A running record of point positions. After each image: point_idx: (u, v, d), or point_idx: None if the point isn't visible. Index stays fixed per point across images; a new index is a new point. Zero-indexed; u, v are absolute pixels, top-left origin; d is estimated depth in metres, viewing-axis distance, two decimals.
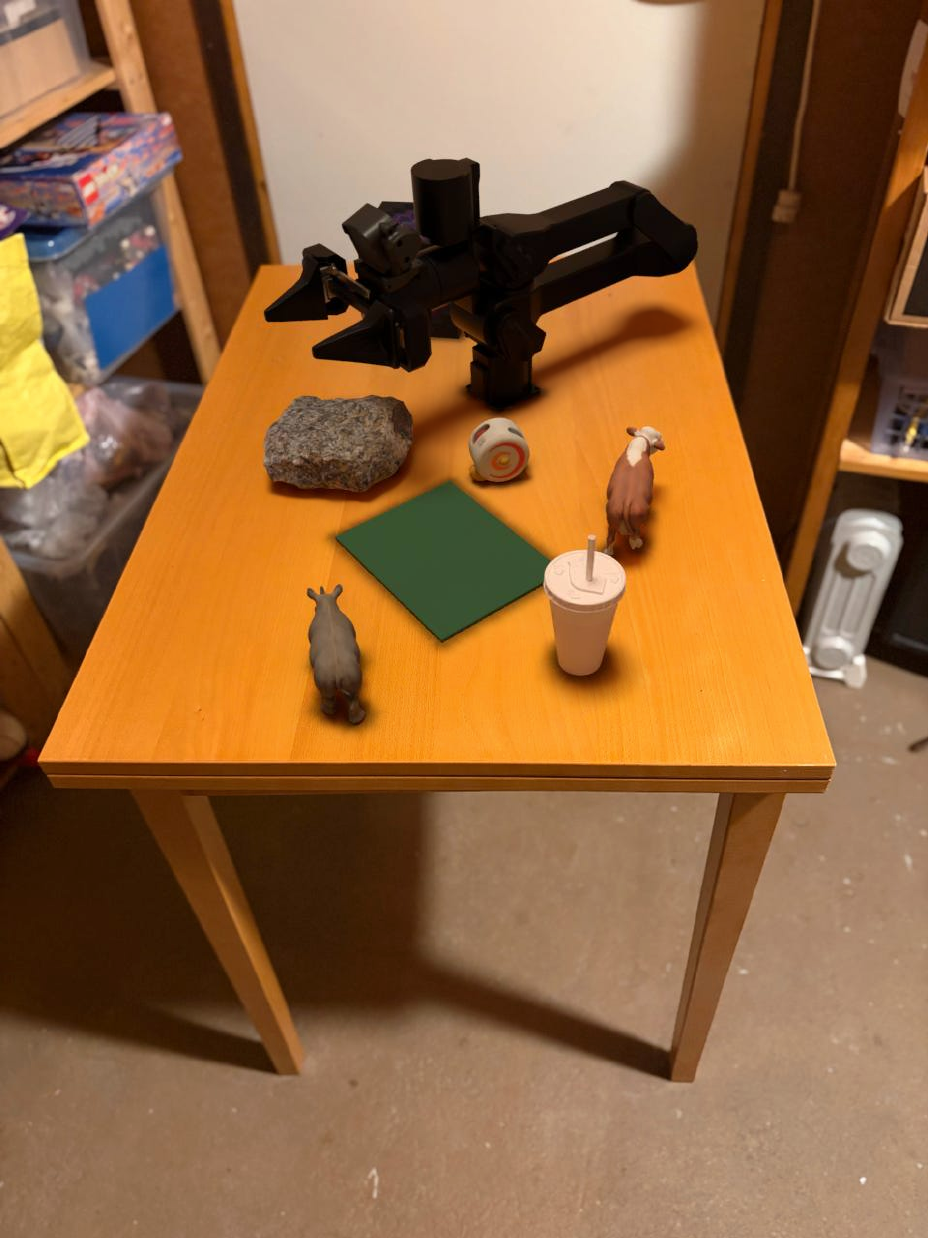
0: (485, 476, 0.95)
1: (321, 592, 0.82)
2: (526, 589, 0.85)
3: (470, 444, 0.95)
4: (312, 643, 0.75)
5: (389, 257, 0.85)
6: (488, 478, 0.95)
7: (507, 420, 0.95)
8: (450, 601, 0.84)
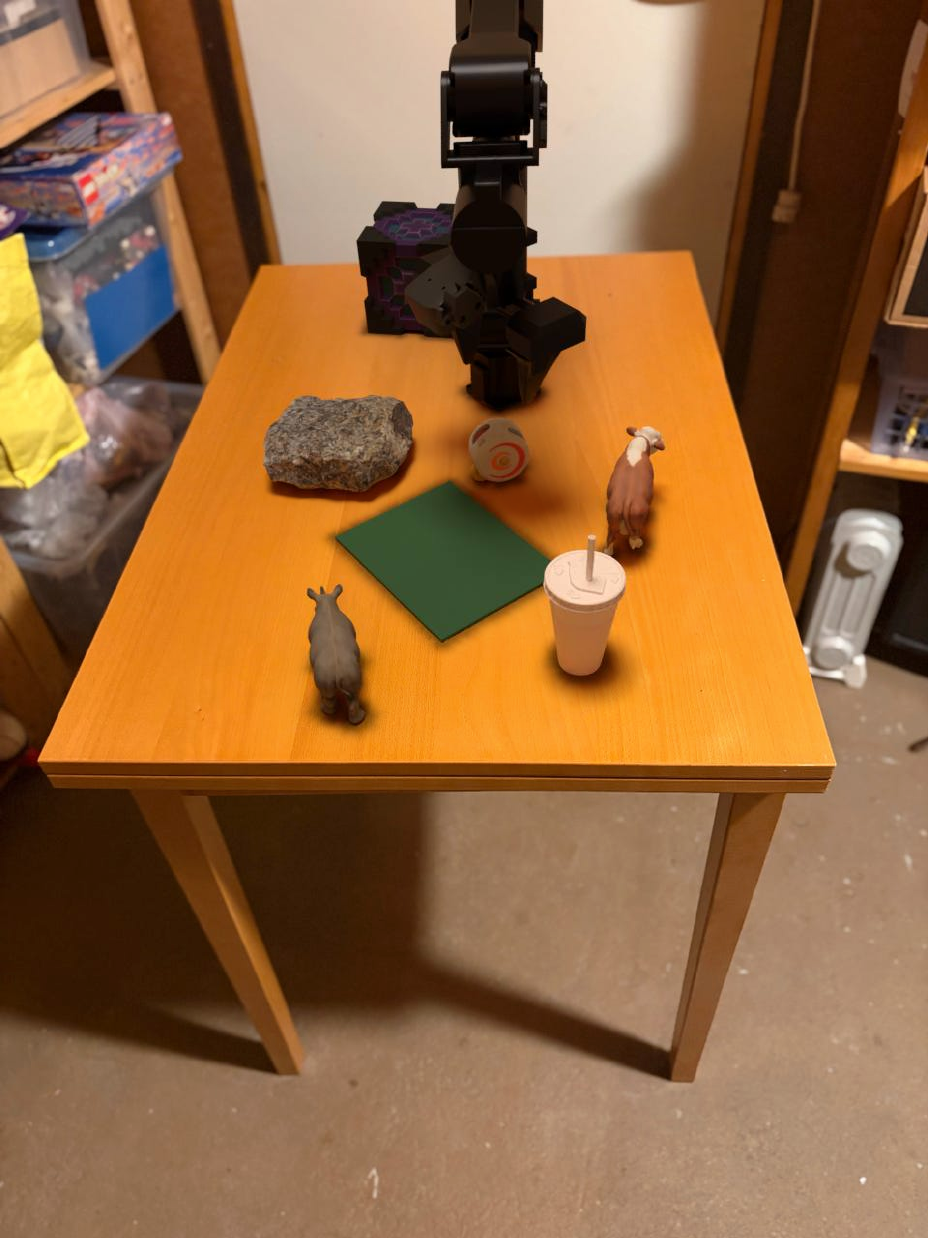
0: (485, 476, 0.95)
1: (321, 592, 0.82)
2: (526, 589, 0.85)
3: (470, 444, 0.95)
4: (312, 643, 0.75)
5: None
6: (488, 478, 0.95)
7: (507, 420, 0.95)
8: (450, 601, 0.84)
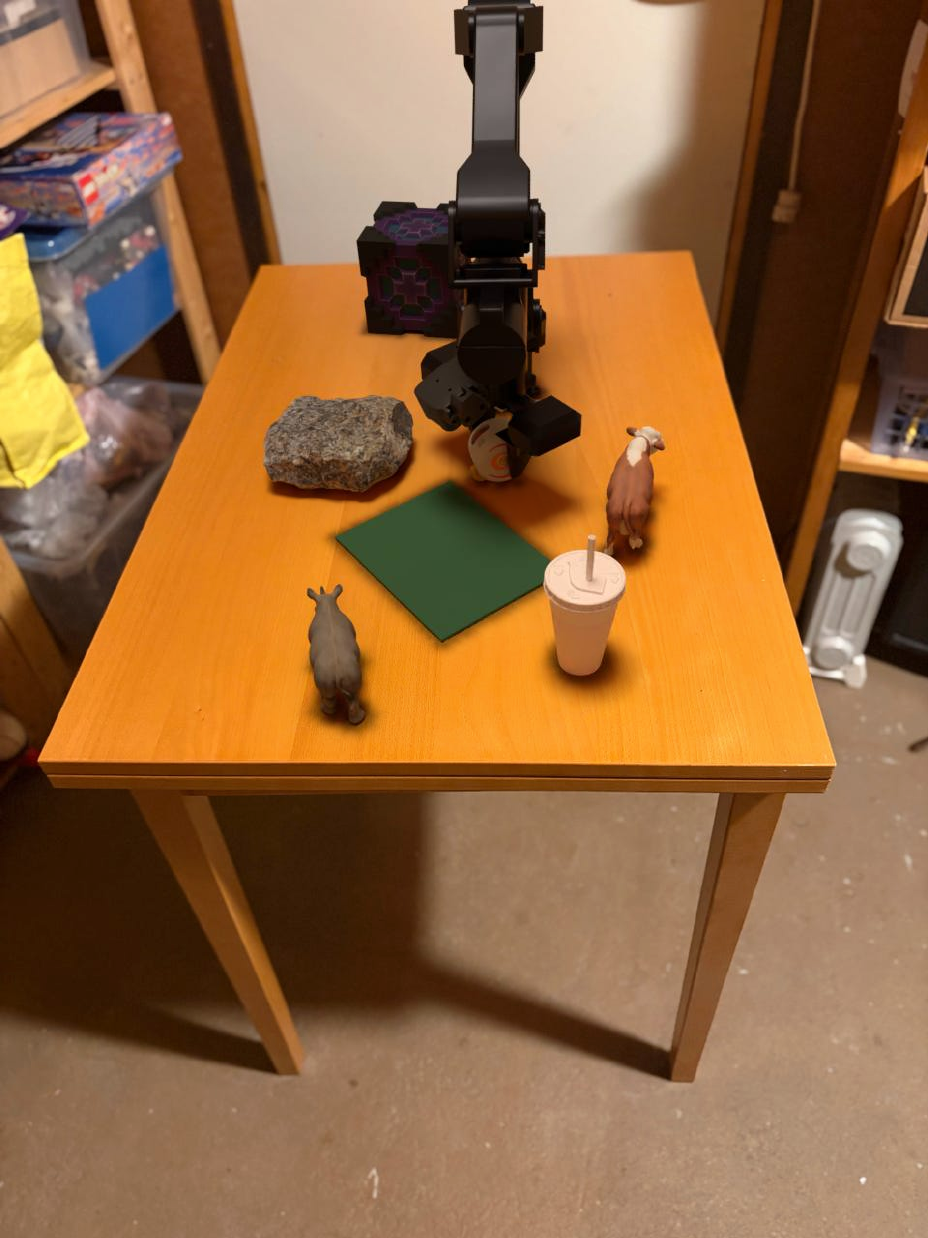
0: (485, 476, 0.95)
1: (321, 592, 0.82)
2: (526, 589, 0.85)
3: (470, 444, 0.95)
4: (312, 643, 0.75)
5: None
6: (488, 478, 0.95)
7: (507, 420, 0.95)
8: (450, 601, 0.84)
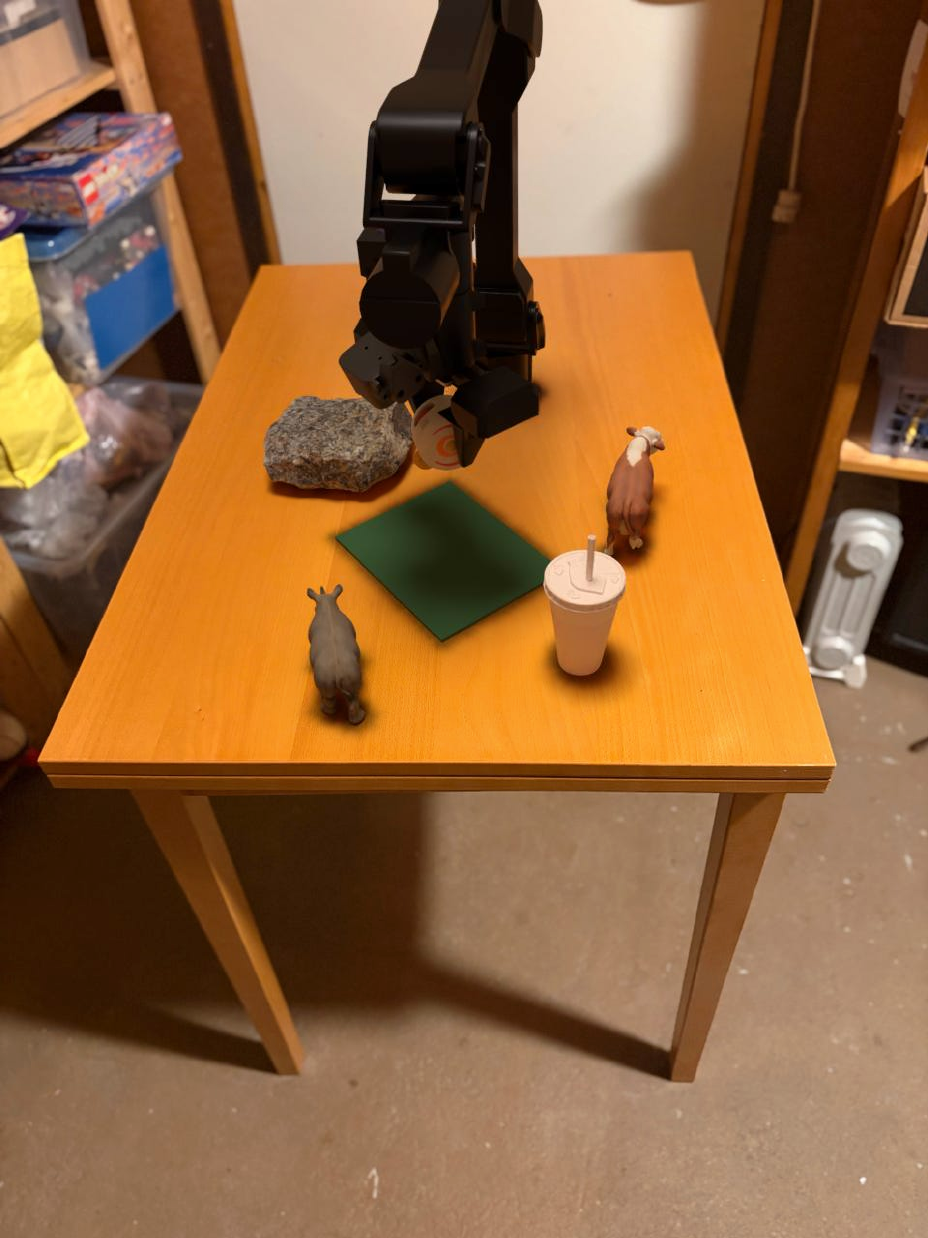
0: (430, 464, 0.81)
1: (321, 592, 0.82)
2: (526, 589, 0.85)
3: (412, 426, 0.81)
4: (312, 643, 0.75)
5: None
6: (434, 466, 0.81)
7: None
8: (450, 601, 0.84)
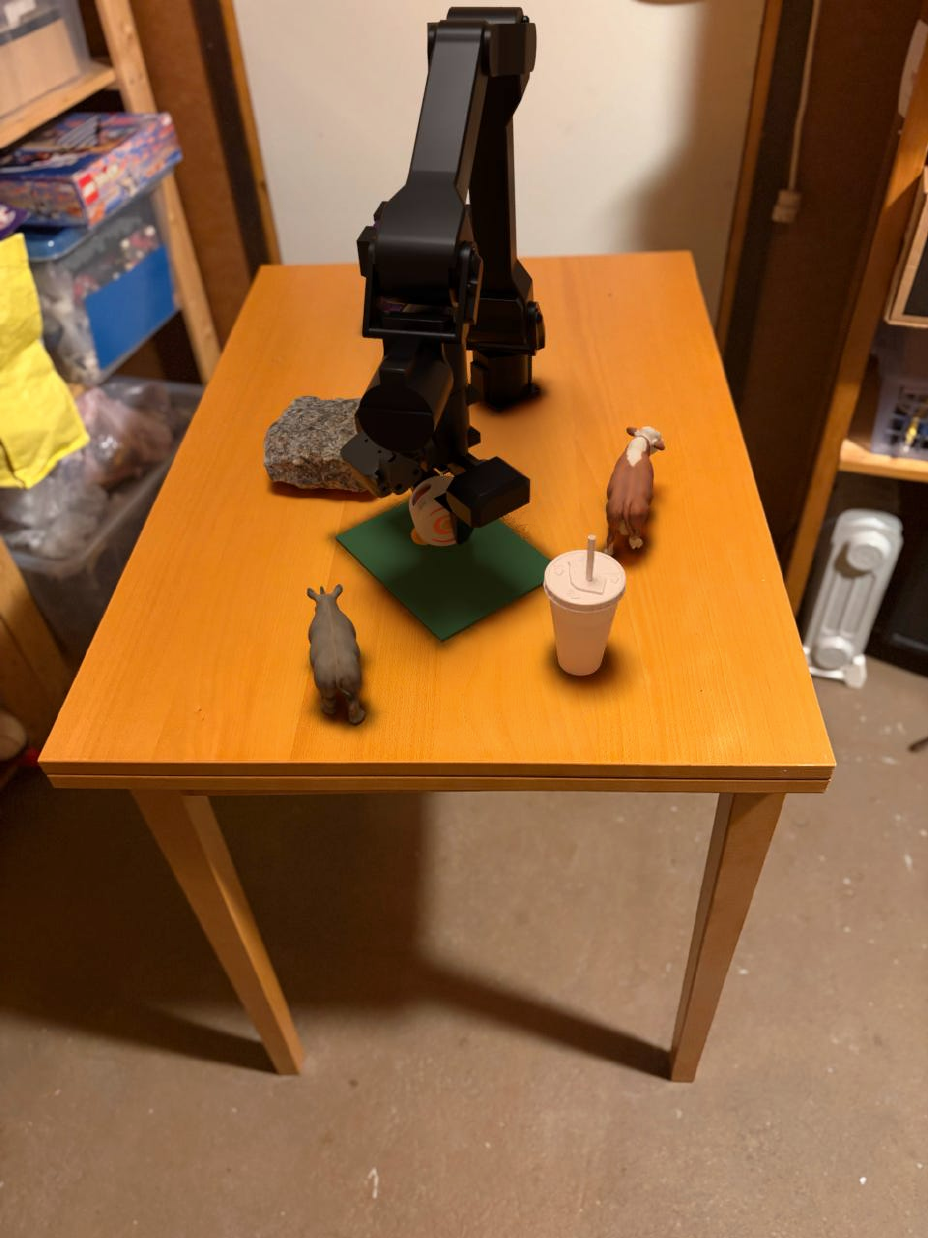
0: (427, 541, 0.85)
1: (321, 592, 0.82)
2: (526, 589, 0.85)
3: (410, 505, 0.85)
4: (312, 643, 0.75)
5: None
6: (431, 543, 0.85)
7: (451, 478, 0.84)
8: (450, 601, 0.84)
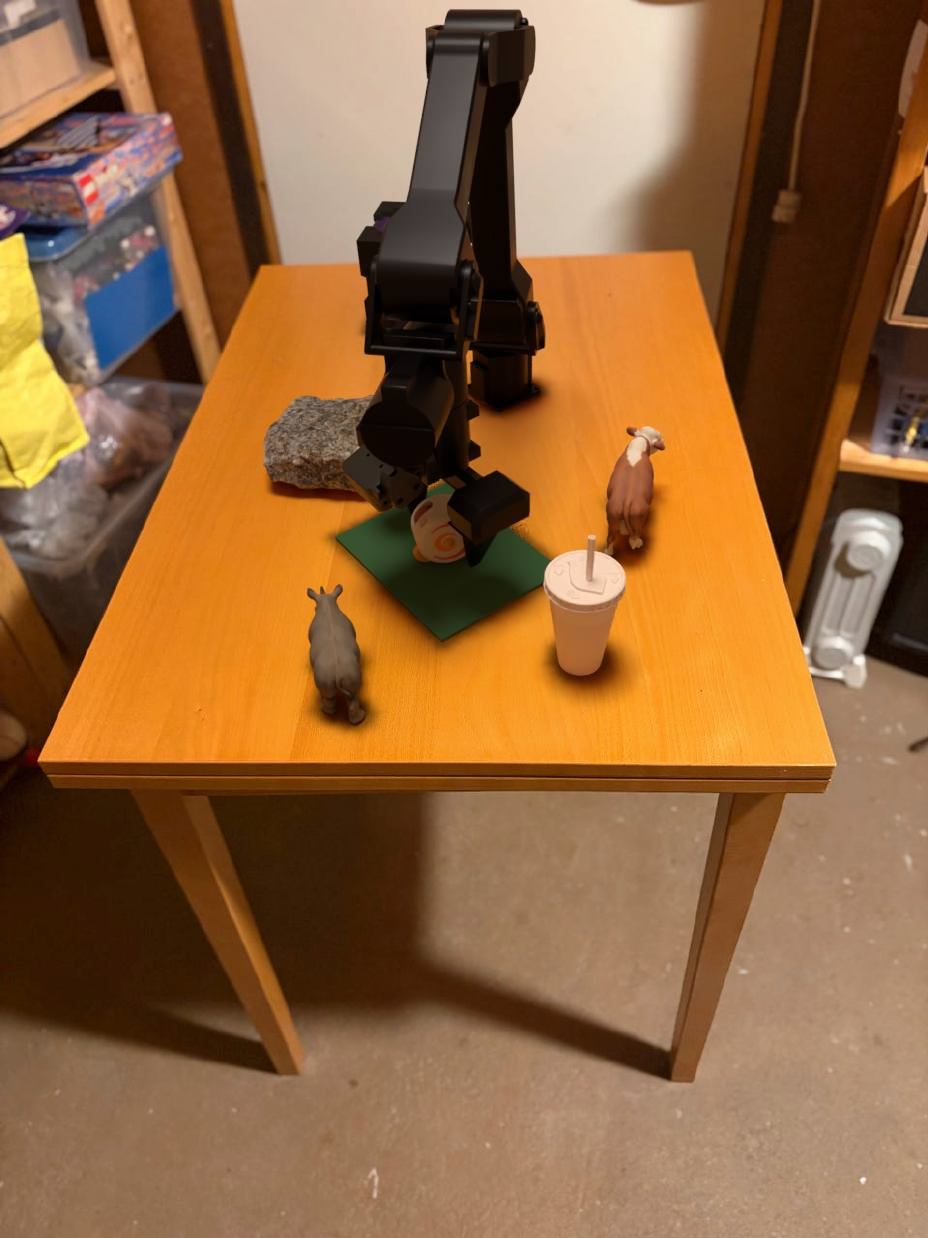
0: (429, 558, 0.86)
1: (321, 592, 0.82)
2: (526, 589, 0.85)
3: (412, 523, 0.86)
4: (312, 643, 0.75)
5: None
6: (432, 560, 0.86)
7: None
8: (450, 601, 0.84)
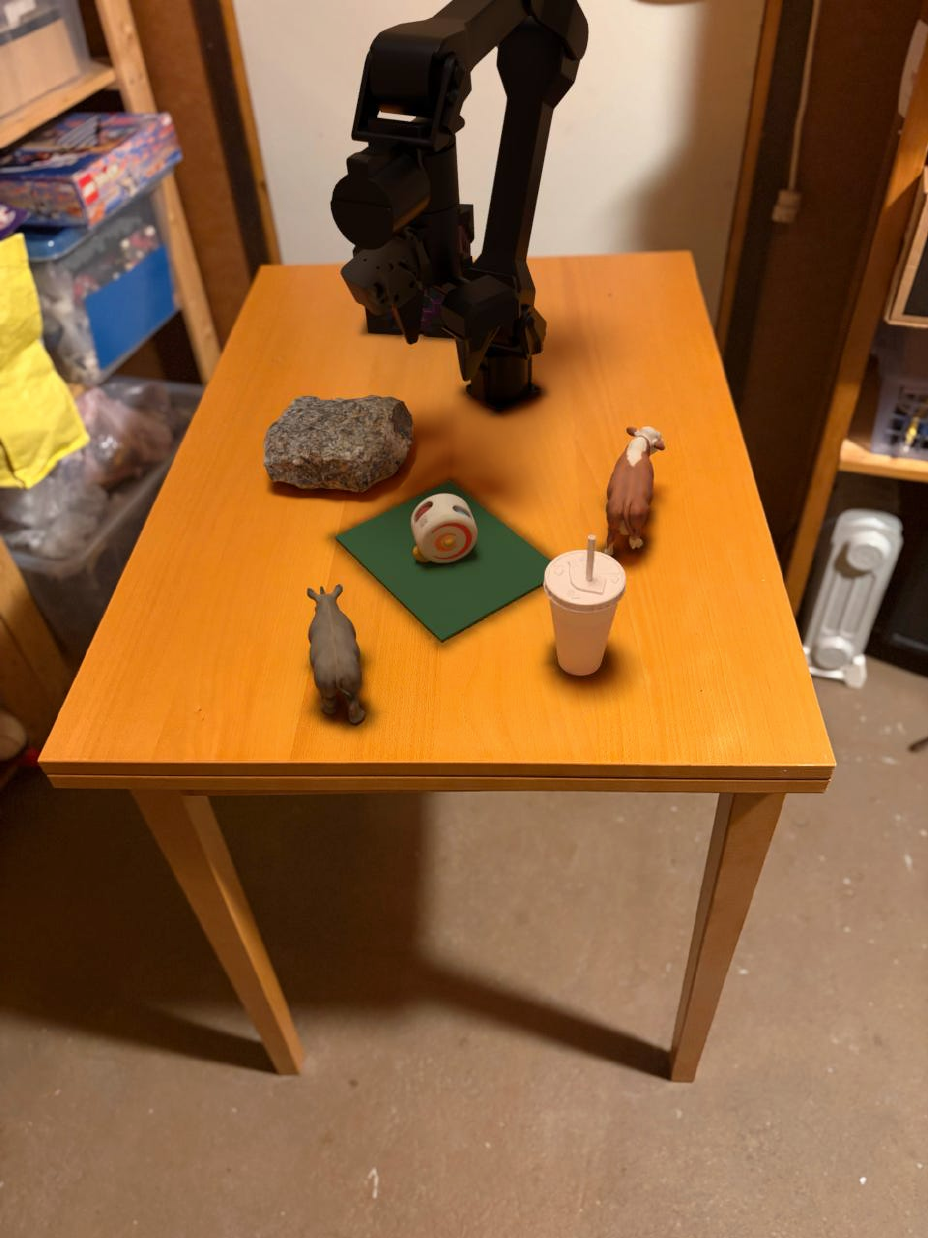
0: (429, 558, 0.86)
1: (321, 592, 0.82)
2: (526, 589, 0.85)
3: (412, 523, 0.86)
4: (312, 643, 0.75)
5: None
6: (432, 560, 0.86)
7: (452, 496, 0.86)
8: (450, 601, 0.84)
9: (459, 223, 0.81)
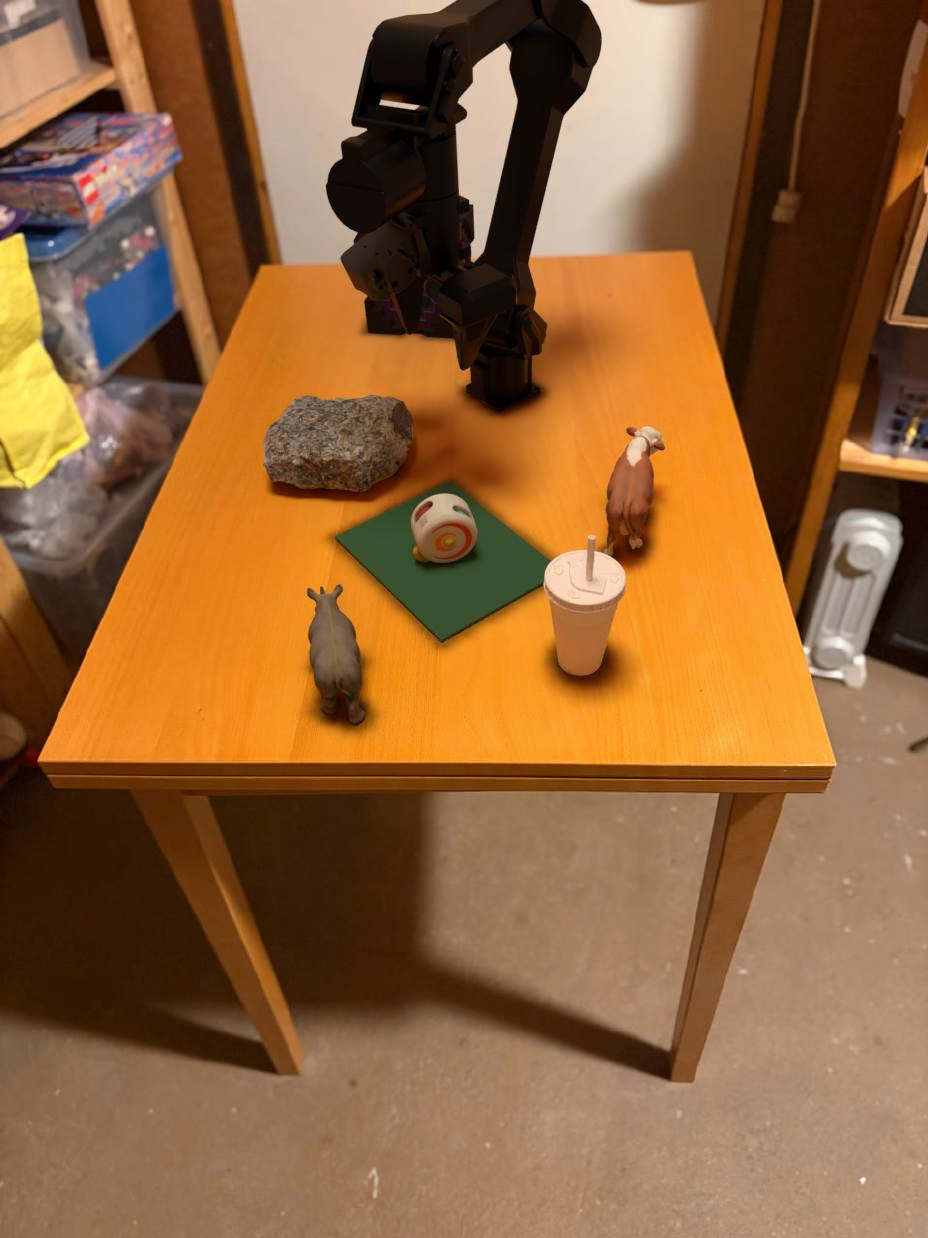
0: (429, 558, 0.86)
1: (321, 592, 0.82)
2: (526, 589, 0.85)
3: (412, 523, 0.86)
4: (312, 643, 0.75)
5: None
6: (432, 560, 0.86)
7: (452, 496, 0.86)
8: (450, 601, 0.84)
9: (458, 212, 0.82)
